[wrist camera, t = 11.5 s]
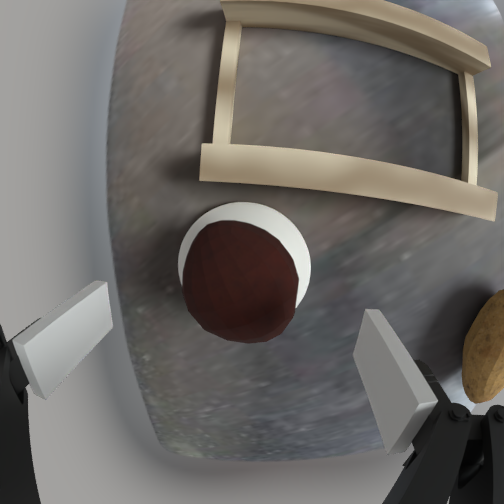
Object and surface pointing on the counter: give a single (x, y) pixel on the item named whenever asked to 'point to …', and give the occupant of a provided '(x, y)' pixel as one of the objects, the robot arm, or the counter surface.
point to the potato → (485, 352)
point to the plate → (263, 219)
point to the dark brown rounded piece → (240, 282)
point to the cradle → (341, 166)
